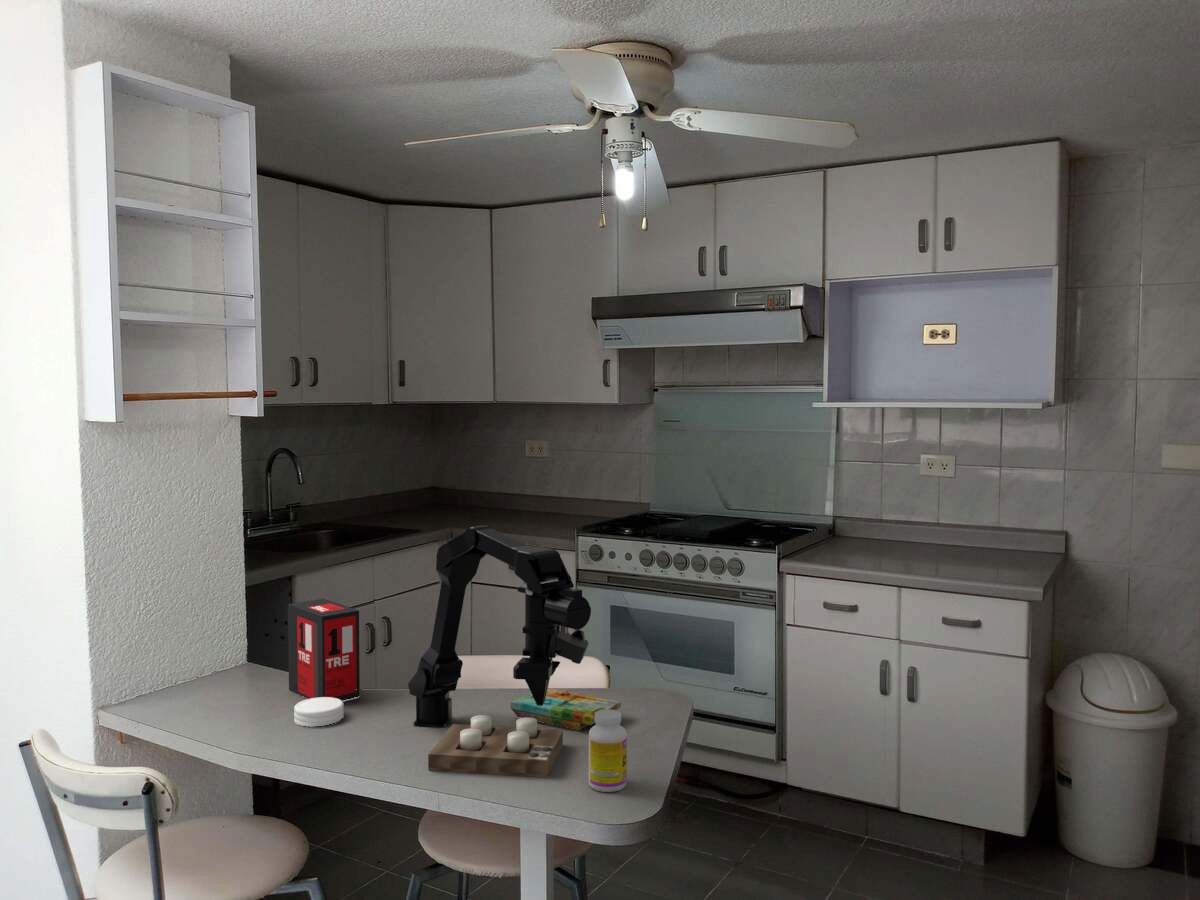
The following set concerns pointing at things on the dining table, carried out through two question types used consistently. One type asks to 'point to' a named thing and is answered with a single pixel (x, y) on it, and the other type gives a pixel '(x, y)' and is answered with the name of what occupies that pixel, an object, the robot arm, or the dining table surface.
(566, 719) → the puzzle game
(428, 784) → the dining table surface
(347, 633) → the cleaning product box
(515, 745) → the outer button
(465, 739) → the outer button
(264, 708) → the dining table surface
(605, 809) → the dining table surface
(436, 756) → the button board
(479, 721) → the inner button
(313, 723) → the white short cylinder
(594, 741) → the supplement bottle
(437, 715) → the robot arm
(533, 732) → the inner button
